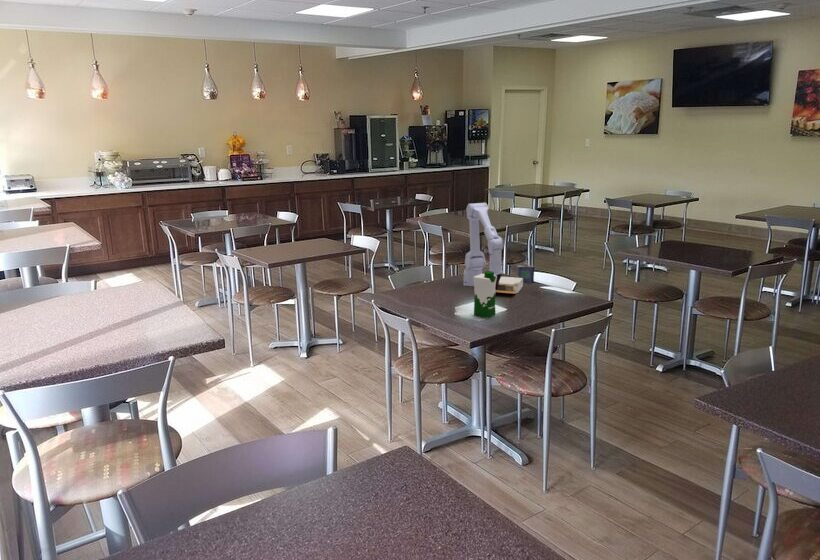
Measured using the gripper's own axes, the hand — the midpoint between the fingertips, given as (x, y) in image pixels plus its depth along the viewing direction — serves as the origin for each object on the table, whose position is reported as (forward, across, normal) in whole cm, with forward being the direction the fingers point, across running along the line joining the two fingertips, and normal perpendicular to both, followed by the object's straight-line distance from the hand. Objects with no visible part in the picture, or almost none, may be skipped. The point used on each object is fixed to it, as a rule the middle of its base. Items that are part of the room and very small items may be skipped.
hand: (495, 289), depth 298 cm
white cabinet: (+3, +13, 0) cm, 14 cm away
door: (+3, +5, 0) cm, 6 cm away
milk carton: (+4, -32, -3) cm, 32 cm away
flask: (+4, +31, -9) cm, 33 cm away
